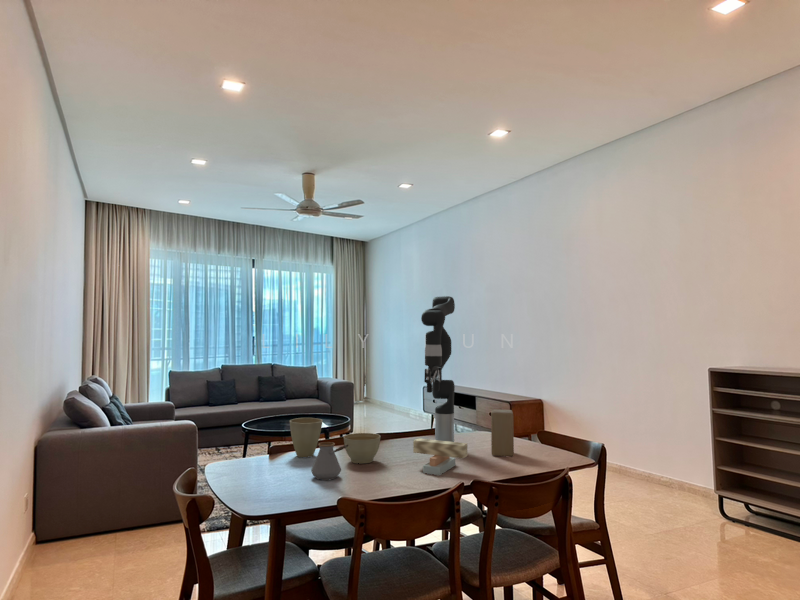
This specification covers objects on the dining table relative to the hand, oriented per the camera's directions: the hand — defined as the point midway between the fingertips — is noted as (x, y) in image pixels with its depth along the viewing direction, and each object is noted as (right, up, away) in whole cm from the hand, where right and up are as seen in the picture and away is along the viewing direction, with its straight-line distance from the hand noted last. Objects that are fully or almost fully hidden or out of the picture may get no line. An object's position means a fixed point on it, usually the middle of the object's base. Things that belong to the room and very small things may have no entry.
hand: (433, 391), depth 225 cm
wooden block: (+33, -31, +10) cm, 47 cm away
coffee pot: (-40, -28, -33) cm, 59 cm away
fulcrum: (+2, -29, -16) cm, 33 cm away
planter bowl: (-31, -30, -4) cm, 44 cm away
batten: (+2, -23, -16) cm, 28 cm away
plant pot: (-58, -30, +5) cm, 66 cm away
